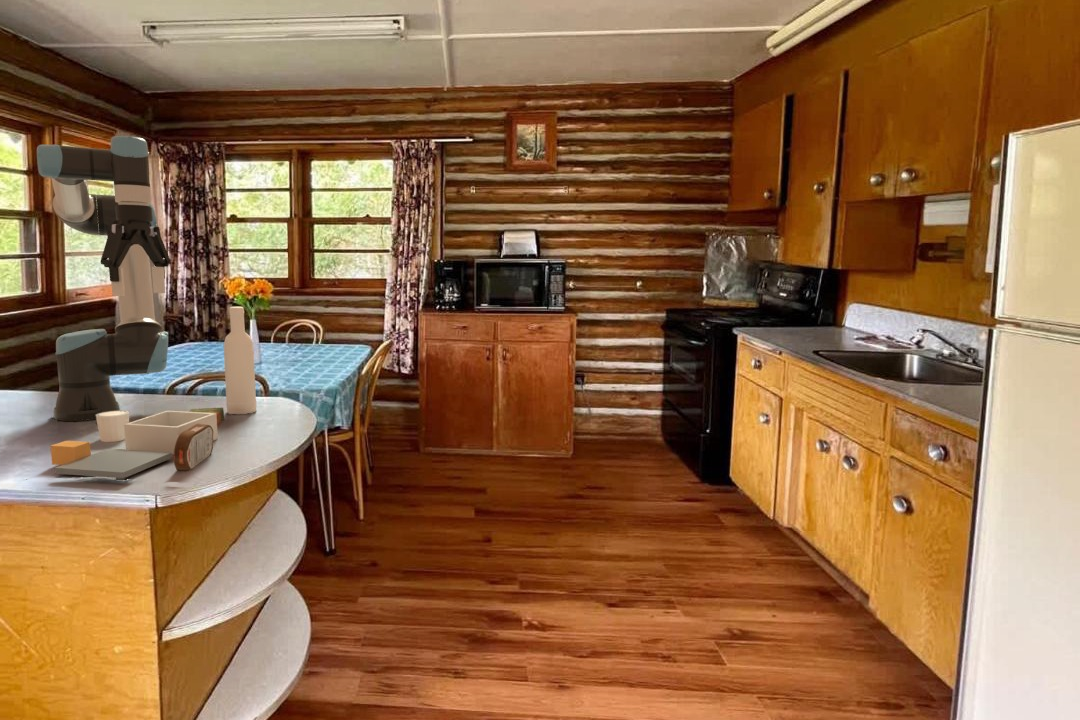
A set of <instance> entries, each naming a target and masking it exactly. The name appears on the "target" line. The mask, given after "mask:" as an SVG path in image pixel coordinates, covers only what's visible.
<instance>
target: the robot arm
mask: <svg viewBox="0 0 1080 720" xmlns="http://www.w3.org/2000/svg"><path fill="white" fill-rule="evenodd" d="M149 155H150V152H149V149H148V142H147V141H146V139H144V138H142V137H138V136H137V137H136V136H129V135H128V136H127V135H115V136H112V137H111V138H110V149H108V148H95V147H94V148H92V147H82V146H81V147H80V146H70V145H59V144H39V145H38V146H37V147H36V161H37V162H36V163H37V170H38V174H39V175H40V176H41V177H43V178H50V179H51V183H52V187H53V192H54V197H53V199H52V208H53V211H54V214H55V215H56V217H57V219H59V220H60V221H61V222H62V223H64V224H65V225H66V226H68V227H69V228H72V229H73V230H76V231H77V232H80V233H84V234H86V235H93V236H107V238H106V241H105V246H104V248H103V252H102V255H101V258H100V264H101V265H103V267H104V268H108V272H109V273H108V274H109V280H110V282H111V294H112V295H111V296H112V297H118V306H119V308H118V309H119V316H120V317H119V319H120V322H119V323H118V324H117V325H116V326H115V327H114V332H115V333H108V332H107V331H106V329H105V328H97V329H87V330H86V329H85V330H80V331H79V330H78V331H74V332H69V333H65V334H62V335H60V336H58V337H57V339H56V341H55V351H56V352H55V354H54V355H55V356H56V361H57V362H56V364H57V375H58V385H59V391H58V394H57V398H56V403H55V407H54V408H53V419H54V420H57V421H64V422H81V421H92V420H93V421H94V420H97V419H96V414H98V413H102V412H107V411H121V410H120V404H119V402H118V401H117V399H116V396H115V394H114V391H113V388H112V387H111V381H110V380H111V378H110V377H111V376H126V375H128V376H129V375H144V374H146V375H149V374H153V373H154V374H155V373H156V374H157V373H161V372H163V371H165V369H166V368H167V362H168V351H169V350H168V349H169V332H168V331H165V330H163V328H162V327H163V326H162V324H160V323H159V322H158V321H156V317H155V316H156V314H155V304H154V294H166V284H165V283H166V282H165V279H166V270H165V268H168V267H169V266H170V264H171V262H172V261H171V259H170V255H169V254H168V251H167V249H166V245H165V243H164V241H163V238H162V235H161V230H160V227H159V226H158V222H157V216H156V211H155V207H154V205H153V201H152V190H151V183H150V182H151V180H150V162H149V159H150V158H149ZM88 181H98V182H99V181H101V182H113V186H114V189H113V190H114V194H113V195H110V194H109V195H108V194H96V193H90V191H89V183H88ZM150 261H151V263H152V264H153V266H151V264H150Z"/></svg>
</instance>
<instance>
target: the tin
mask: <svg viewBox="0 0 1080 720" xmlns="http://www.w3.org/2000/svg"><path fill="white" fill-rule="evenodd" d="M213 449H214V441H213V429H212V427H211V426H210V425H205V424H195V425H194V426H192V427H190V428H189V429H187V430H185V431H183V432H182V433H180V435H179V436H178V438H177V441H176V444H175V448H174V455H173V465H174V467H175V469H176V471H191V470H193V468H194V467H196V466H197V465H199V464H200V463H201V462H203V461H204V460H205V459H207V458H208V457H209V456H211V455H212V453H213Z"/></svg>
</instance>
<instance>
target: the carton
mask: <svg viewBox="0 0 1080 720" xmlns="http://www.w3.org/2000/svg"><path fill="white" fill-rule="evenodd" d="M224 411H225V410H224V407H211V408H210V407H206V408H203V407H202V408H192V409H190V410H189V411H188V412H201V413H216V416H217V428H218V427H219V426H220V424H221V423H222V422H225V421H226V419H225V412H224Z"/></svg>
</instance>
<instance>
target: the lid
mask: <svg viewBox="0 0 1080 720" xmlns="http://www.w3.org/2000/svg"><path fill="white" fill-rule="evenodd" d="M50 455H51V465H54V466H56V467H54V472H55V473H54V474H59V475H72V476H82V477H85V476H86V477H99V478H100V477H101V478H112V479H113V478H115V481H116V480H126V481H127V479H128V480H130V479H129V477H130V476H132V475H135V474H137V473H139V472H143V471H145V470H146V469H150V468H151V467H154V466H156V465H159V464H162V463H164V462H166V461H168V460H170V459H172V458H173V455H172V453H171V452H156V451H140V450H126V448H125V449H121V448H106V449H104V450H101V451H97V452H96V453H93V454H91V442H90V441H80V440H78V441H77V440H64V441H61V442H58V443H54V444H51V445H50Z"/></svg>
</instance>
